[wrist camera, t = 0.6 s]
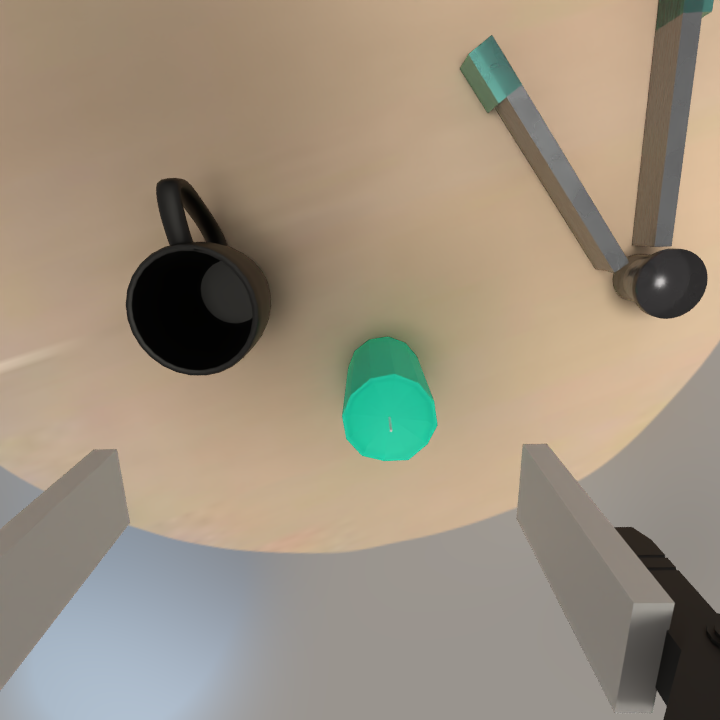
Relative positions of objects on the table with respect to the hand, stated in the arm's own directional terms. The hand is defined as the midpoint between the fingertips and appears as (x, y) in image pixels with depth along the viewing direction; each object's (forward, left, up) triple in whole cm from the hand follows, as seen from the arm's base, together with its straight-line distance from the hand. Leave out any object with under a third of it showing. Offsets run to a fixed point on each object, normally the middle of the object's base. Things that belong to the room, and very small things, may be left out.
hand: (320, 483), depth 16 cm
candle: (+4, +3, -25) cm, 25 cm away
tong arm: (-11, +15, -24) cm, 31 cm away
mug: (-5, -9, -25) cm, 27 cm away
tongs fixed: (-12, +23, -24) cm, 36 cm away
